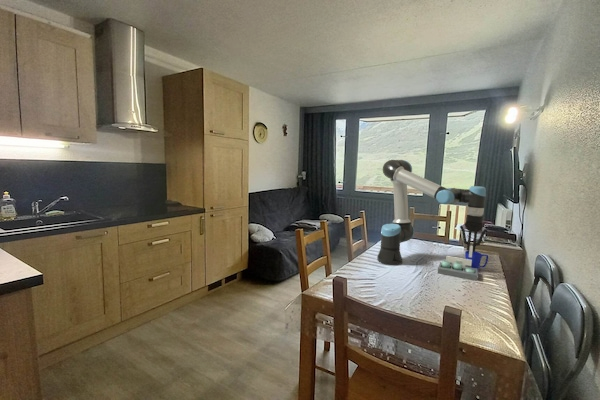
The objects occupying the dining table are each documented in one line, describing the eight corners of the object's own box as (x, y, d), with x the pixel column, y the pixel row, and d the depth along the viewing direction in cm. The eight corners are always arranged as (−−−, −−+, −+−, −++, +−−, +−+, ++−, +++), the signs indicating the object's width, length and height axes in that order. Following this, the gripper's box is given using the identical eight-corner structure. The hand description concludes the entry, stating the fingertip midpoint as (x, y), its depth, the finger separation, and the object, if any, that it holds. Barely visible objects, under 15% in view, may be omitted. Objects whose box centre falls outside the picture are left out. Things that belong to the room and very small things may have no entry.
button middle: (452, 269, 157) (453, 264, 156) (453, 267, 160) (453, 262, 160) (461, 271, 154) (462, 266, 154) (462, 268, 158) (462, 263, 158)
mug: (490, 272, 159) (491, 256, 158) (466, 271, 162) (468, 254, 160) (483, 267, 167) (485, 251, 166) (461, 266, 170) (463, 250, 168)
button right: (464, 275, 154) (465, 270, 153) (465, 272, 157) (465, 267, 157) (474, 277, 151) (474, 271, 151) (474, 274, 155) (474, 269, 155)
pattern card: (445, 267, 167) (446, 256, 166) (445, 267, 168) (446, 255, 167) (470, 272, 160) (471, 260, 159) (470, 271, 161) (471, 259, 160)
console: (437, 273, 158) (437, 268, 157) (439, 267, 168) (440, 262, 167) (477, 280, 148) (477, 275, 147) (476, 273, 158) (477, 268, 157)
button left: (441, 267, 160) (441, 262, 159) (441, 265, 164) (442, 260, 163) (449, 269, 158) (450, 264, 157) (450, 266, 161) (450, 261, 161)
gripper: (460, 214, 150) (456, 256, 154) (489, 217, 144) (484, 261, 147) (461, 212, 157) (457, 252, 160) (489, 215, 150) (484, 257, 153)
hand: (470, 256), depth 154 cm, fingers closed
